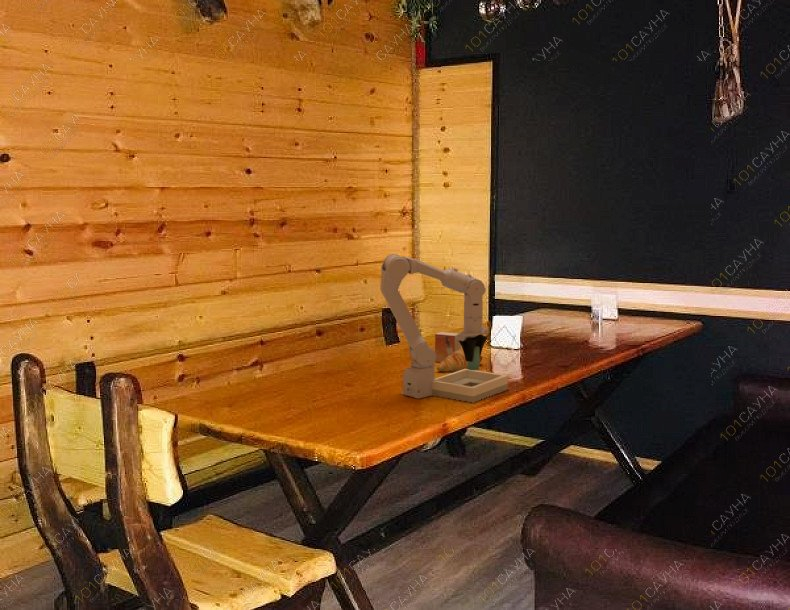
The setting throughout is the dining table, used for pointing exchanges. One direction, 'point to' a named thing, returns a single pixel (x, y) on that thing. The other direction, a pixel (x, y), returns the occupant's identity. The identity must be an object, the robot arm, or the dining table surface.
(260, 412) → the dining table surface
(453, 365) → the croissant
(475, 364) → the peg
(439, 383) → the bore tray
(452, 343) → the small box
